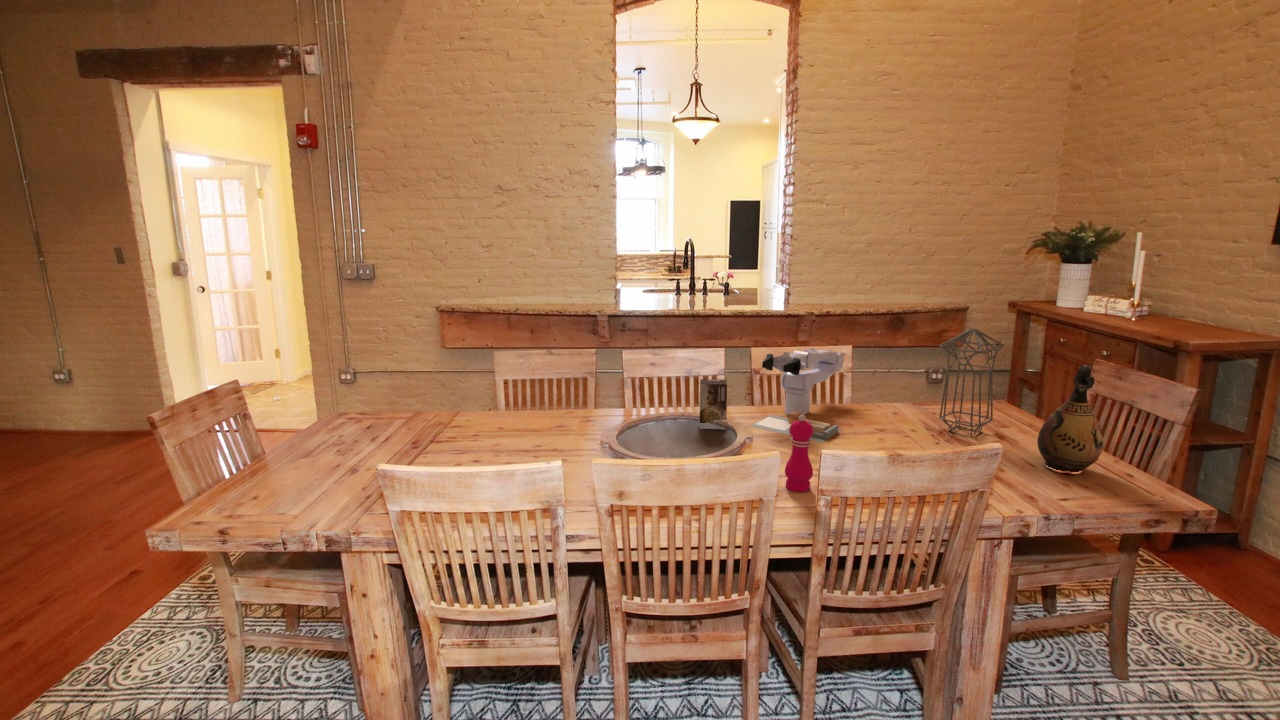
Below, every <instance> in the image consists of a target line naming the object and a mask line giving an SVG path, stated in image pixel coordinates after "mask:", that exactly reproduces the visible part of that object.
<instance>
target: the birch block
mask: <svg viewBox="0 0 1280 720" xmlns="http://www.w3.org/2000/svg"><path fill="white" fill-rule="evenodd" d="M800 415H801V413H798V412H791V413H789V415H788V418H789V421H788V424H792V423H793V422H795V421H797V420H799V416H800ZM805 421H807V422H809V423H810V424H811V425H812V427H813V432H816V433H820V434H823V432H824V431H825V430H827V429H829V428H830V427H831V423H827V422H823V421H817V420H812V419H808V418H806V420H805Z"/></svg>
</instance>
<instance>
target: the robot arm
mask: <svg viewBox="0 0 1280 720" xmlns="http://www.w3.org/2000/svg"><path fill="white" fill-rule="evenodd" d="M844 360H845V356H844V355H843V353H842V352H836V351H832V350H831V351H830V350H823V349H817V350H816V349H815V348H811V347H810V348H809V349H804V350H803V351H802V350H794V351H793V352H792V353H790V352H789V351H783V354H782V355H781V354H780V355H777V356H774V354H772V353H767V354H766V357H764V359H763V361H762V362H761V364H762V365H761V367H762V368H763V369H765V370H766V371H770V372H771V371H773V370H774V368H775V369H777V370H778V371H780V372H781V373H783V375H781V380H780V382H781V386H782V388H783V389H784V390H783V391H784V392H785V404H784V405H785V407H784V408H785V409H784V414H785V415H787V416H789V413H791V412H798V413H801V415H804V416H806V414H808V413H809V412H810V403H811V395H810V391H811V390H812V389H814V386H815V385H816V384H819V383H824V382H826V381H827V380H828V379H830V377H832V376H833V374H835V373H837V372H840V371H841V369H842V367H843V365H844ZM807 369H809V370H807ZM800 371H802V372H800Z"/></svg>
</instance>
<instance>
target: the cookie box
mask: <svg viewBox="0 0 1280 720" xmlns="http://www.w3.org/2000/svg"><path fill="white" fill-rule="evenodd" d="M727 402H728V381H727V379H720V378H719V379H714V378H707V379H706V378H700V381H699V421H700V423H707V422H711V421H714V420H726V421H727V407H728V405H727V404H728V403H727Z"/></svg>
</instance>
